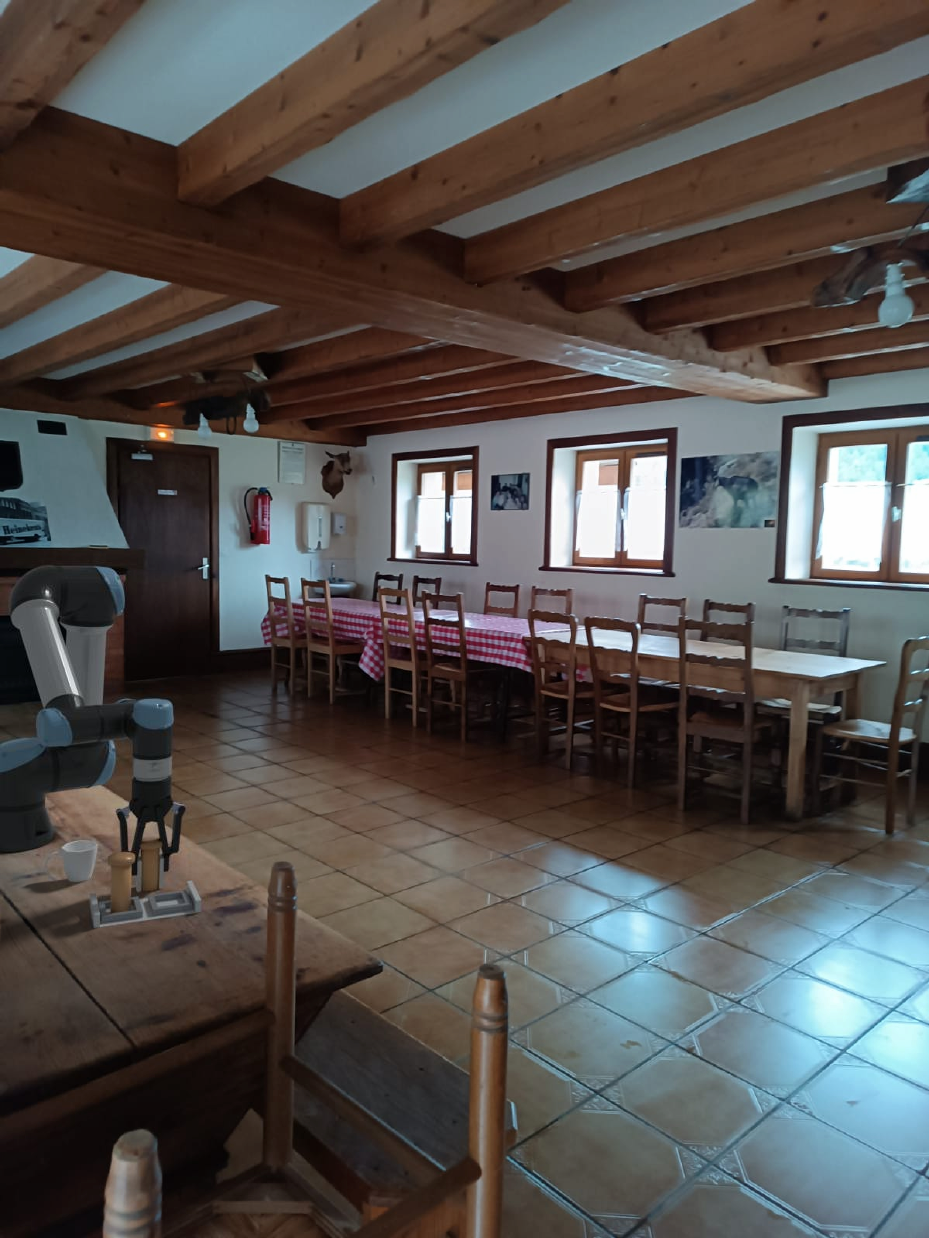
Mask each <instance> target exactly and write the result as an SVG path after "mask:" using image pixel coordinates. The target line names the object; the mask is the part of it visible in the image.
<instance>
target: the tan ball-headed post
mask: <svg viewBox="0 0 929 1238" xmlns="http://www.w3.org/2000/svg"><path fill="white" fill-rule="evenodd" d="M161 847H162V842H161V840H160V838H159V836H148V837H146V836H145V837H143V838H142V842H141V844H140V857H141V860H142V878H141V892H153V891H154V892H155V891H156V890H158V889H159V854H161V853H160V850H161Z"/></svg>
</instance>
